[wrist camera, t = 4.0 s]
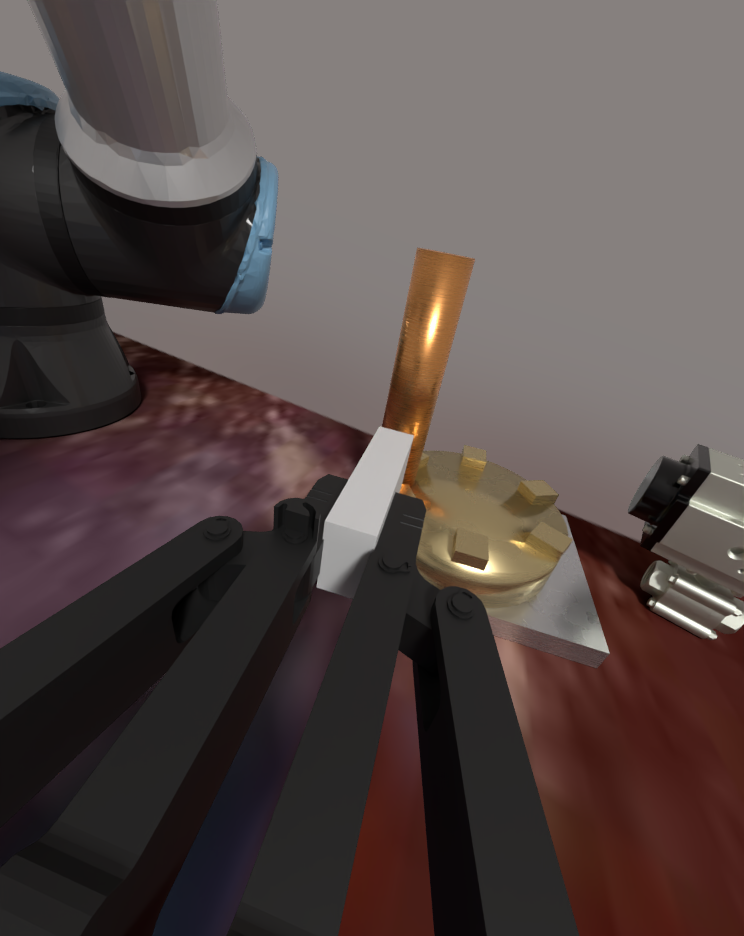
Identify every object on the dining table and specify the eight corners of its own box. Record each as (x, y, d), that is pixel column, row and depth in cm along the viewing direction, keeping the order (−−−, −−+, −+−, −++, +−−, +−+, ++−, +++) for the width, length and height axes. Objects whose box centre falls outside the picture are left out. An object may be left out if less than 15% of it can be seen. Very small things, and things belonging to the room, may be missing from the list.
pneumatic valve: (595, 550, 31) (682, 419, 25) (774, 643, 26) (944, 506, 19) (581, 588, 27) (680, 444, 21) (789, 707, 22) (1008, 561, 15)
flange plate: (306, 575, 24) (308, 558, 23) (361, 473, 35) (363, 460, 34) (596, 668, 22) (609, 653, 21) (558, 528, 33) (565, 515, 32)
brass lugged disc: (339, 566, 23) (392, 246, 14) (385, 464, 34) (431, 248, 25) (565, 637, 21) (792, 326, 12) (536, 505, 32) (645, 290, 23)
